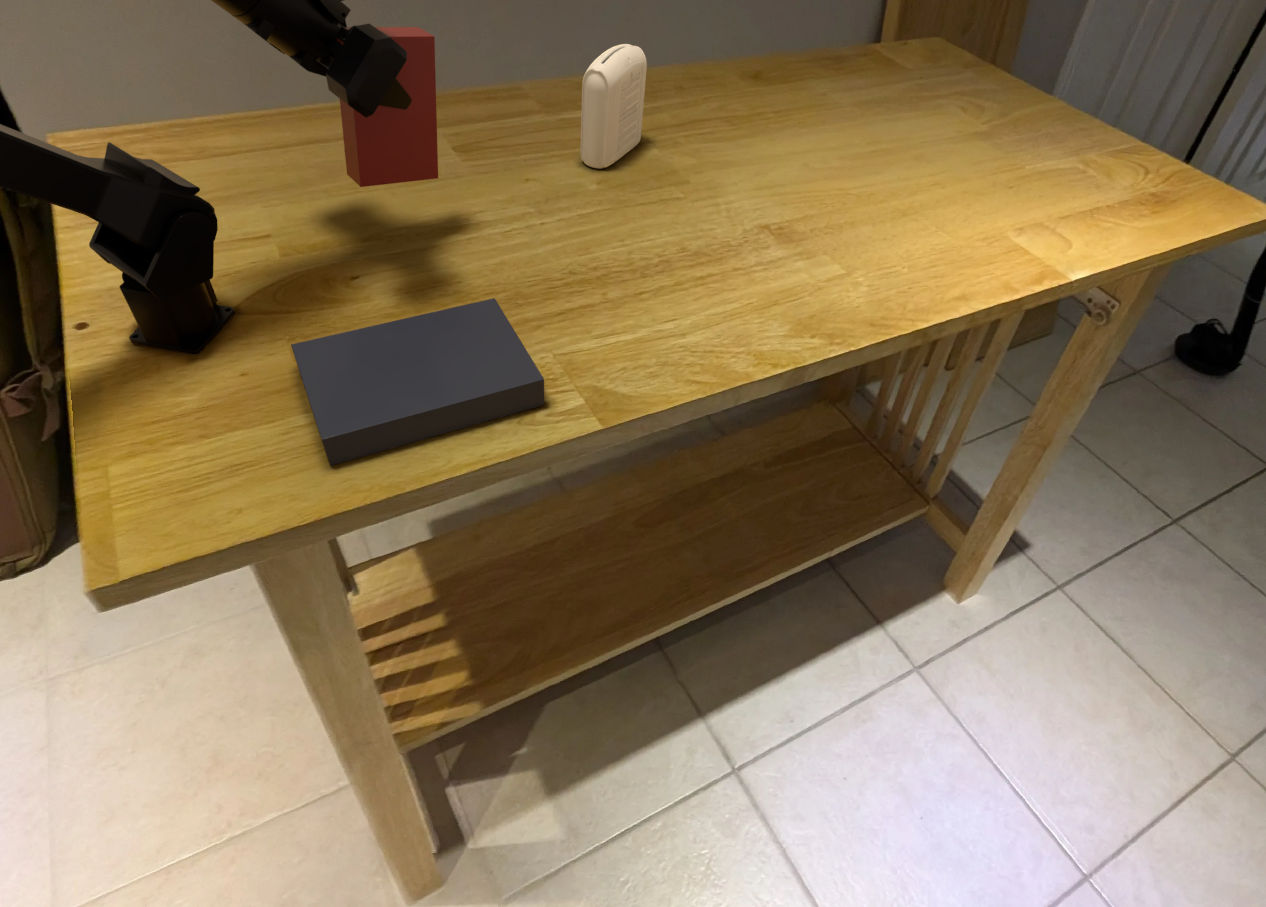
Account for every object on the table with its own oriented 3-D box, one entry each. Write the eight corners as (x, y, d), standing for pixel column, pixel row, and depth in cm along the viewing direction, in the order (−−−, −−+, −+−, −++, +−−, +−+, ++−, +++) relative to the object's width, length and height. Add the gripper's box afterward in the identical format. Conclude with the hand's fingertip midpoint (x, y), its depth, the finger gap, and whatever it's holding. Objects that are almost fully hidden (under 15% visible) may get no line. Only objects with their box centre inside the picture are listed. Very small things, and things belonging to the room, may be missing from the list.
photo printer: (616, 132, 103) (622, 31, 94) (645, 141, 102) (653, 40, 93) (575, 163, 97) (576, 58, 88) (605, 173, 96) (610, 68, 86)
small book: (360, 187, 75) (347, 37, 67) (346, 174, 77) (332, 27, 69) (439, 178, 79) (435, 36, 71) (424, 166, 81) (419, 27, 73)
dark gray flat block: (330, 466, 61) (321, 439, 59) (299, 371, 68) (290, 344, 66) (545, 404, 68) (545, 378, 66) (497, 323, 75) (495, 297, 73)
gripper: (364, -81, 55) (502, 55, 68) (251, -141, 64) (393, -10, 77) (282, 58, 57) (432, 165, 70) (183, -19, 66) (333, 88, 79)
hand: (397, 96), depth 74 cm, fingers closed on small book, 4 cm apart
